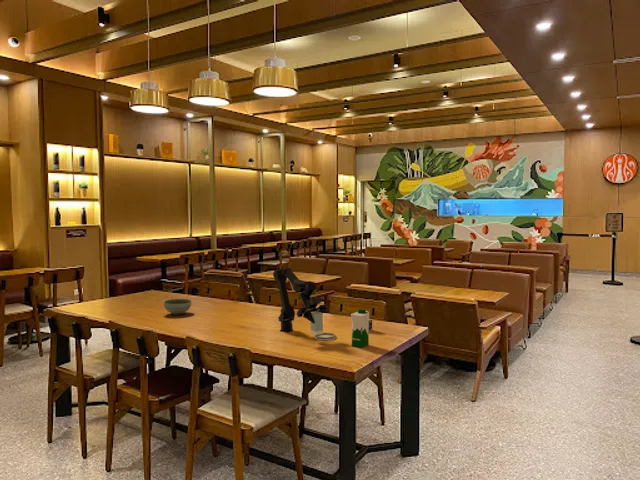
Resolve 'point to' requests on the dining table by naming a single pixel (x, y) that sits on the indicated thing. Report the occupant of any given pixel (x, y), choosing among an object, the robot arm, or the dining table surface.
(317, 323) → the gray block
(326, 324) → the dining table surface
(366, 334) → the milk carton
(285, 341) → the dining table surface
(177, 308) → the bowl
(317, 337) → the coaster
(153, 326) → the dining table surface
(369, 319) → the medicine bottle
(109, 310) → the dining table surface
